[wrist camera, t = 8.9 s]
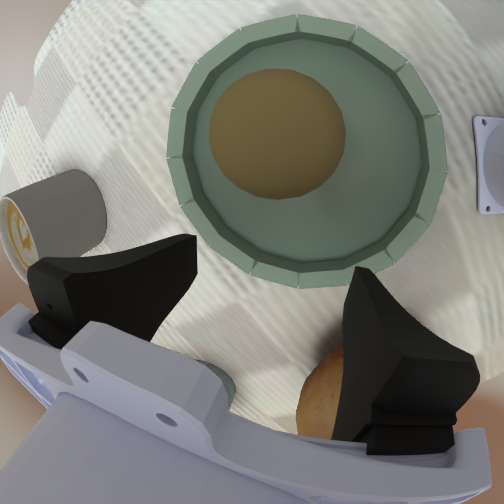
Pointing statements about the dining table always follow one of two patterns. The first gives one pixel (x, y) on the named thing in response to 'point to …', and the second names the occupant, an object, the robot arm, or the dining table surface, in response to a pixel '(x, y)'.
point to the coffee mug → (52, 219)
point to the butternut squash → (321, 397)
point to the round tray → (346, 174)
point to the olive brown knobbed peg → (277, 133)
